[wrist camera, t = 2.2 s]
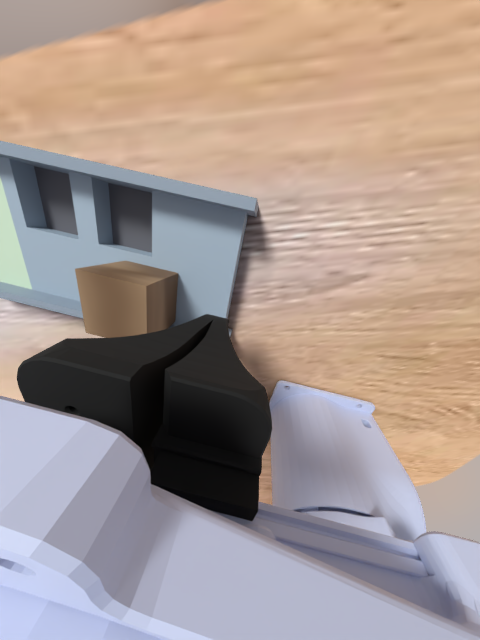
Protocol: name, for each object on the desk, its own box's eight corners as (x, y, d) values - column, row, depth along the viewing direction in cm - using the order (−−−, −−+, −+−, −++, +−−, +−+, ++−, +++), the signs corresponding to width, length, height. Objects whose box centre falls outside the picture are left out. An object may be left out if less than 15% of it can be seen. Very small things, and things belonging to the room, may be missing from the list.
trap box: (258, 206, 13) (256, 198, 10) (230, 334, 17) (224, 353, 14) (-60, 135, 13) (-145, 108, 10) (-8, 276, 17) (-59, 283, 15)
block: (178, 273, 13) (146, 286, 10) (175, 321, 15) (146, 347, 11) (125, 260, 14) (74, 268, 10) (128, 310, 15) (85, 332, 12)
